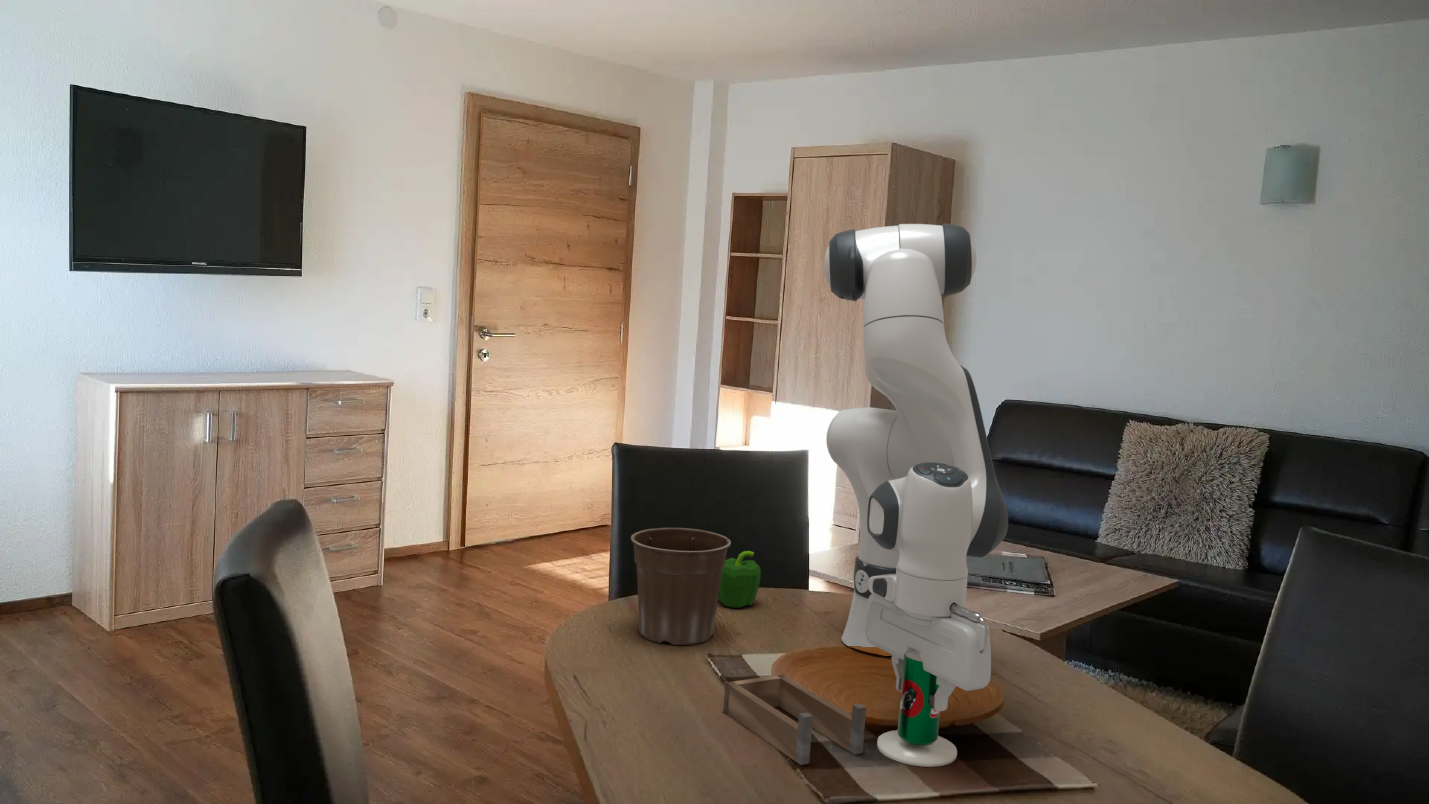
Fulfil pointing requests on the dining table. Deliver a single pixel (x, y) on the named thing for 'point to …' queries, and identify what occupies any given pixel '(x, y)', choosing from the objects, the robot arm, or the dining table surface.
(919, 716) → the soda can
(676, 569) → the plant pot
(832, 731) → the dispenser
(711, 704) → the dining table surface
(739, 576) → the bell pepper
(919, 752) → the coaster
